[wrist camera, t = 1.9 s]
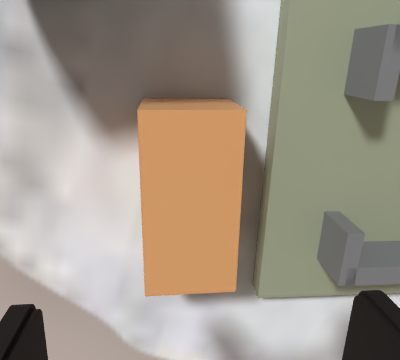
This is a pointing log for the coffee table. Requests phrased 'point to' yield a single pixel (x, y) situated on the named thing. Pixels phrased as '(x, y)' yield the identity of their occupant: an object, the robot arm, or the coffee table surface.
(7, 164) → the coffee table surface
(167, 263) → the tall tan rectangular prism
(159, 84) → the coffee table surface
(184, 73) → the coffee table surface
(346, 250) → the green bracket base plate
